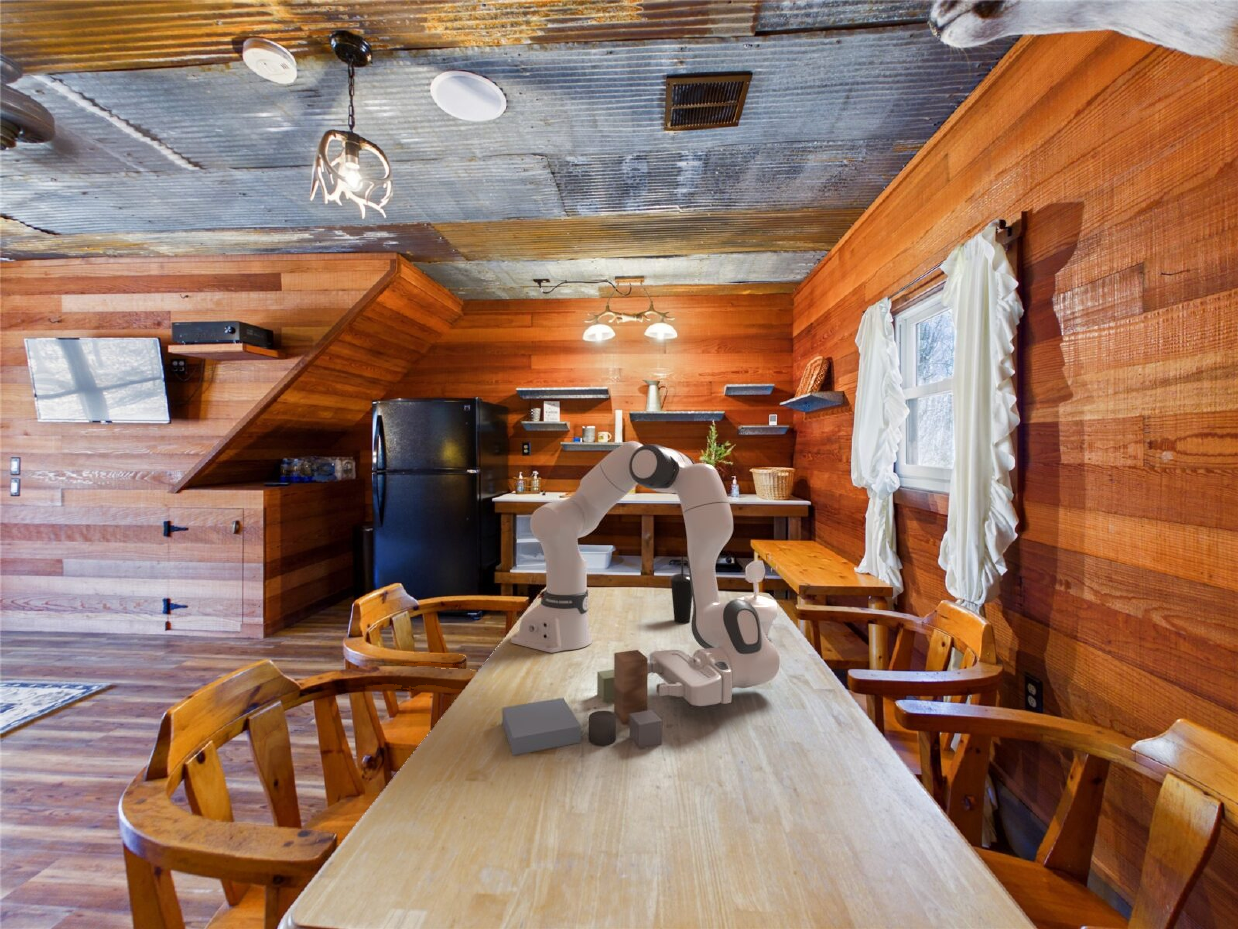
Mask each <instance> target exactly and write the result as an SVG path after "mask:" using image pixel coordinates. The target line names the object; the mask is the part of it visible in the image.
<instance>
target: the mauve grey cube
mask: <svg viewBox="0 0 1238 929" xmlns="http://www.w3.org/2000/svg"><path fill="white" fill-rule="evenodd" d="M628 726H629V728H628V729H629V730H628V731H629V732H628V733H629V734H628V738H629V739H630V740H631V742H632V743H633V744H634V745H635V747H636V748H637V749H638V750H644V749H647V748H653V747H657V746H662V744H663V739H662V737H663V733H662V732H663V727H662V726H663V720H662V719H661V718H660V717H659V716H658V715H657V713H655V712H654V710H653V709H649V710H648V709H647V711H642V712H636V713H631V714H629V725H628Z"/></svg>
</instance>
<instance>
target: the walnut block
mask: <svg viewBox="0 0 1238 929" xmlns="http://www.w3.org/2000/svg"><path fill="white" fill-rule="evenodd" d="M613 655H614V657H613V659H614V661H613V669H614V701H613V713H614V714H615V715H616V718H617V719H618V720H619V721H620V722H621V723H622V725H627V724H629V714H631V713H636V712H642V711H647V710H648V675H649V674H648V662H649V660H648V657H647V656H646V655H644V654H643V653H642V652H640V651H639V650H638V649H633V650H626V651H618V652H614V654H613Z"/></svg>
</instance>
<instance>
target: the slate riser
mask: <svg viewBox="0 0 1238 929" xmlns="http://www.w3.org/2000/svg"><path fill="white" fill-rule="evenodd" d="M501 708H502V711H501V713H502V716H501V717H502V720H501V722H502V723H501V724H502V726H503V729H504V732H505V734H506V735H505V736H506V738H507V741H508V743H509V747H510V750H511V753H512V755H513V756H518V755H521V754H522V755H525V754H528V753H533V752H539V751H543V750H549V749H554V748H558V747H559V748H560V747H563V746H569V745H575V744H579V743H582V725H581V723H580V722H579V721H578V719H577V717H576V716H575V714H574V713H573V711H572V709H571V708H570V706H569V705H568V703H567V702H566V699H565V698H564V697H560V698H552V699H549V700H548V699H547V700H541V701H535V702H529V703H528V702H527V703H524V704H523V703H522V704H515V705H510V706H504V707H501Z"/></svg>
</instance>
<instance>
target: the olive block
mask: <svg viewBox="0 0 1238 929" xmlns="http://www.w3.org/2000/svg"><path fill="white" fill-rule="evenodd" d="M596 678H597V679H596V680H597V681H596V682H597V683H596V684H597V685H596V686H597V687H596V690H597V691H596V692H597V694H596V695H597V696H598V697H599V699H600V700H601V701H602V703H604V704H605V703H611V702H614V668H613V669H608V670H607V669H606V670H600V671H597V677H596Z"/></svg>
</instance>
